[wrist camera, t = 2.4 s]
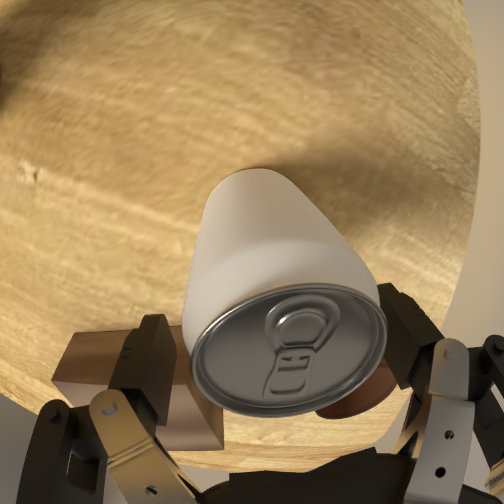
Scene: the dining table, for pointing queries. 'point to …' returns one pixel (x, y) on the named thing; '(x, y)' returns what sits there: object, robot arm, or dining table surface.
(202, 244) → the can
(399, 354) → the robot arm
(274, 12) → the dining table surface
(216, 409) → the walnut block
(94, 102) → the dining table surface
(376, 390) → the cup and saucer
